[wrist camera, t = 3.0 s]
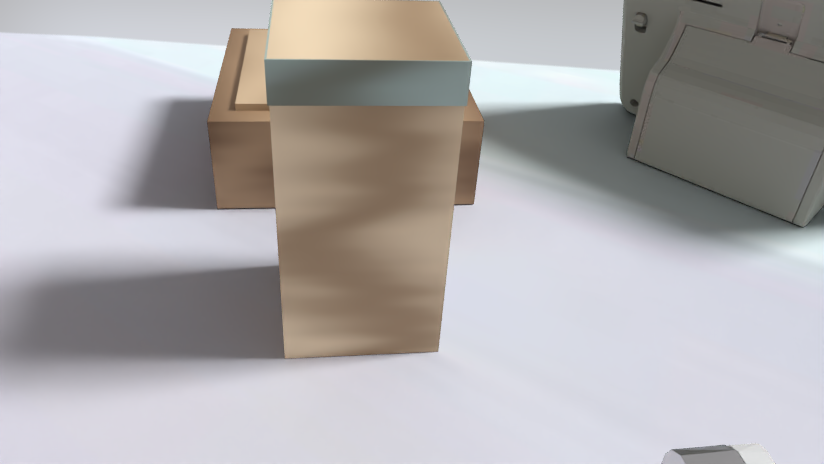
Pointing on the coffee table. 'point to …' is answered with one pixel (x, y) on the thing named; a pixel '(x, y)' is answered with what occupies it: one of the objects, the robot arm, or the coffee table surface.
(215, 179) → the base
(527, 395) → the coffee table surface
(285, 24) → the pillar
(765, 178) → the digital clock
